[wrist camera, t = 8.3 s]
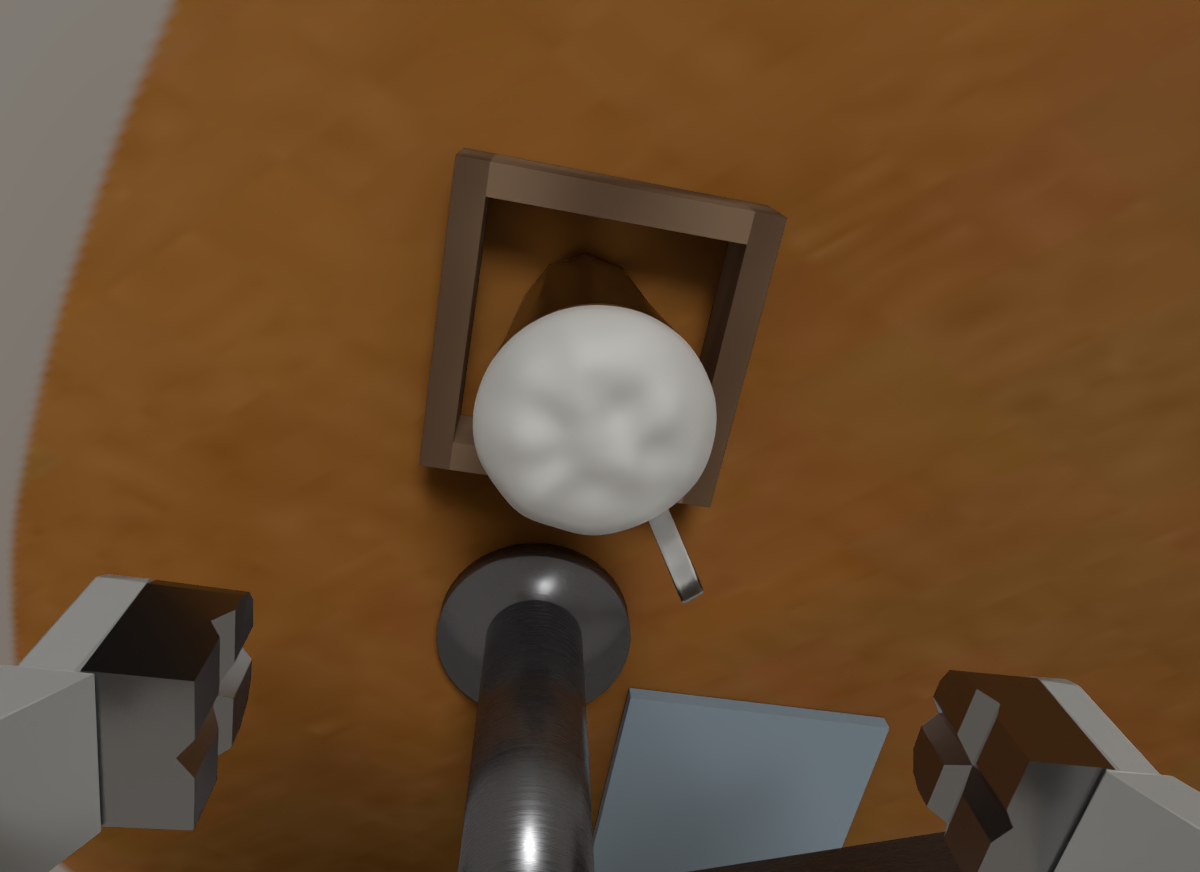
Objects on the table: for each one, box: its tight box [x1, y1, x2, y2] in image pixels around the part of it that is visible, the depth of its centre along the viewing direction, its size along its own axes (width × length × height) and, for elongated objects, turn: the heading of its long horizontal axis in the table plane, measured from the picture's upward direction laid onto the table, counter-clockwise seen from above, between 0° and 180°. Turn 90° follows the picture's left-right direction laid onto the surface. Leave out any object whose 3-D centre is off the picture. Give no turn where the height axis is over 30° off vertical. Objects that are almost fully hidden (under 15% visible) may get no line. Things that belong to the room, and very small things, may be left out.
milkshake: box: [473, 254, 717, 604], centre depth 19 cm, size 5×5×10 cm
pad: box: [593, 688, 889, 872], centre depth 30 cm, size 9×9×1 cm
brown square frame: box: [419, 148, 787, 508], centre depth 23 cm, size 8×8×2 cm
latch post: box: [437, 544, 630, 872], centre depth 22 cm, size 6×6×10 cm
